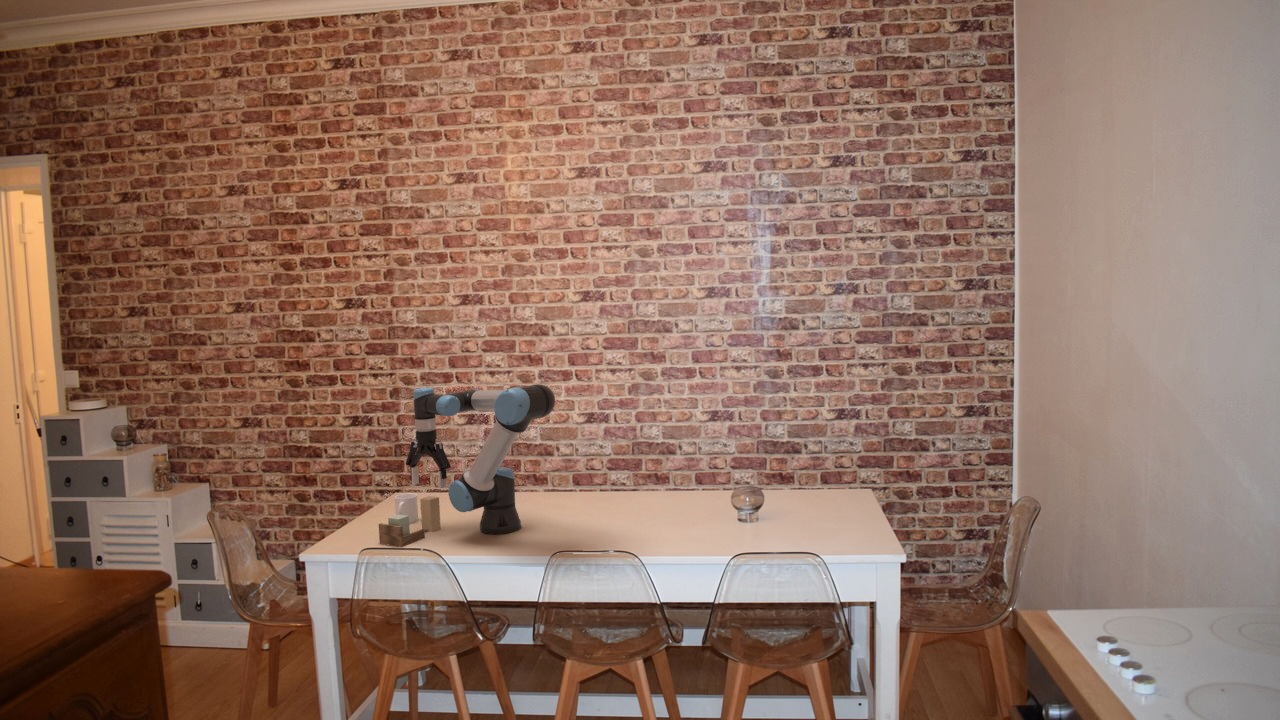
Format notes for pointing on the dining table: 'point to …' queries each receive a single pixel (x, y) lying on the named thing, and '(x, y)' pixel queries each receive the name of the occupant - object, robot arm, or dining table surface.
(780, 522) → the dining table surface
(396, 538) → the lane
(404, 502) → the cup
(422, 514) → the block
